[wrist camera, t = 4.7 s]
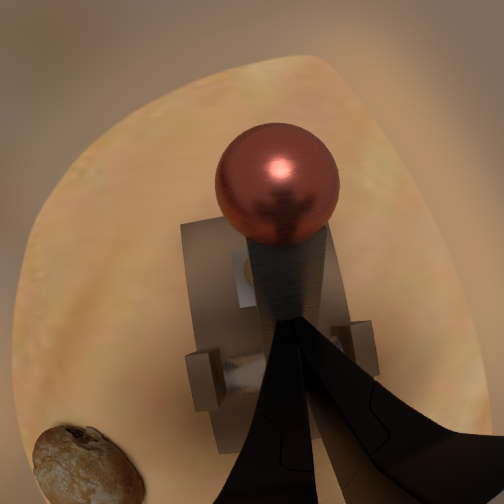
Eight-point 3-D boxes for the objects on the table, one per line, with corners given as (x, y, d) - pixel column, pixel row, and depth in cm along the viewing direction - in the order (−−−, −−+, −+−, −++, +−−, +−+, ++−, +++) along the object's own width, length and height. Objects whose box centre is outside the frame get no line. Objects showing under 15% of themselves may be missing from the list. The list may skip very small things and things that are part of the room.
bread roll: (153, 437, 20) (108, 427, 14) (161, 535, 13) (119, 558, 7) (67, 425, 20) (14, 405, 14) (70, 512, 13) (16, 513, 7)
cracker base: (358, 418, 17) (389, 443, 12) (221, 445, 17) (210, 481, 11) (318, 209, 21) (335, 172, 16) (185, 231, 21) (163, 200, 15)
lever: (345, 394, 13) (434, 142, 4) (234, 417, 13) (111, 184, 4) (317, 309, 18) (327, 85, 9) (224, 326, 18) (161, 107, 9)
